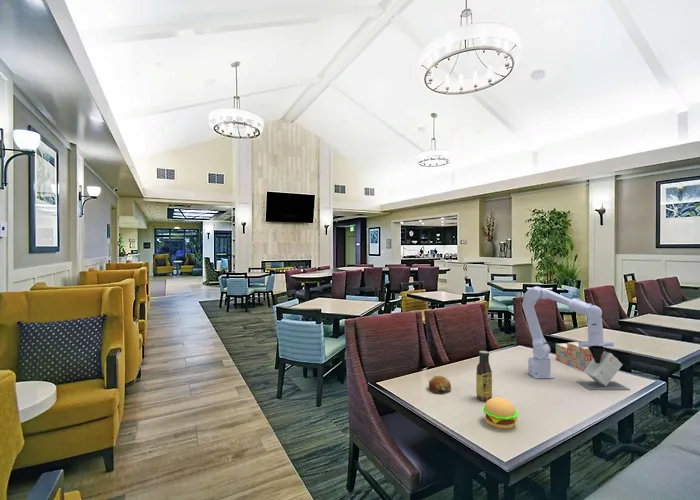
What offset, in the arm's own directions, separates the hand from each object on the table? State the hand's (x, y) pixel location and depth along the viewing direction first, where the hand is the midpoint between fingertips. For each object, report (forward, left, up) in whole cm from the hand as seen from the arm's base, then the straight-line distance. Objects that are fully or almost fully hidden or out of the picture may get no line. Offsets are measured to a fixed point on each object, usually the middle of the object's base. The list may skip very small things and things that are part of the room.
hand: (597, 362), depth 158 cm
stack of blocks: (+6, +29, -11) cm, 32 cm away
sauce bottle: (-55, -15, -11) cm, 58 cm away
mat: (+2, 0, -11) cm, 11 cm away
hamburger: (-56, -36, -11) cm, 68 cm away
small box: (-1, 0, -8) cm, 8 cm away
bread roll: (-72, -5, -11) cm, 73 cm away
